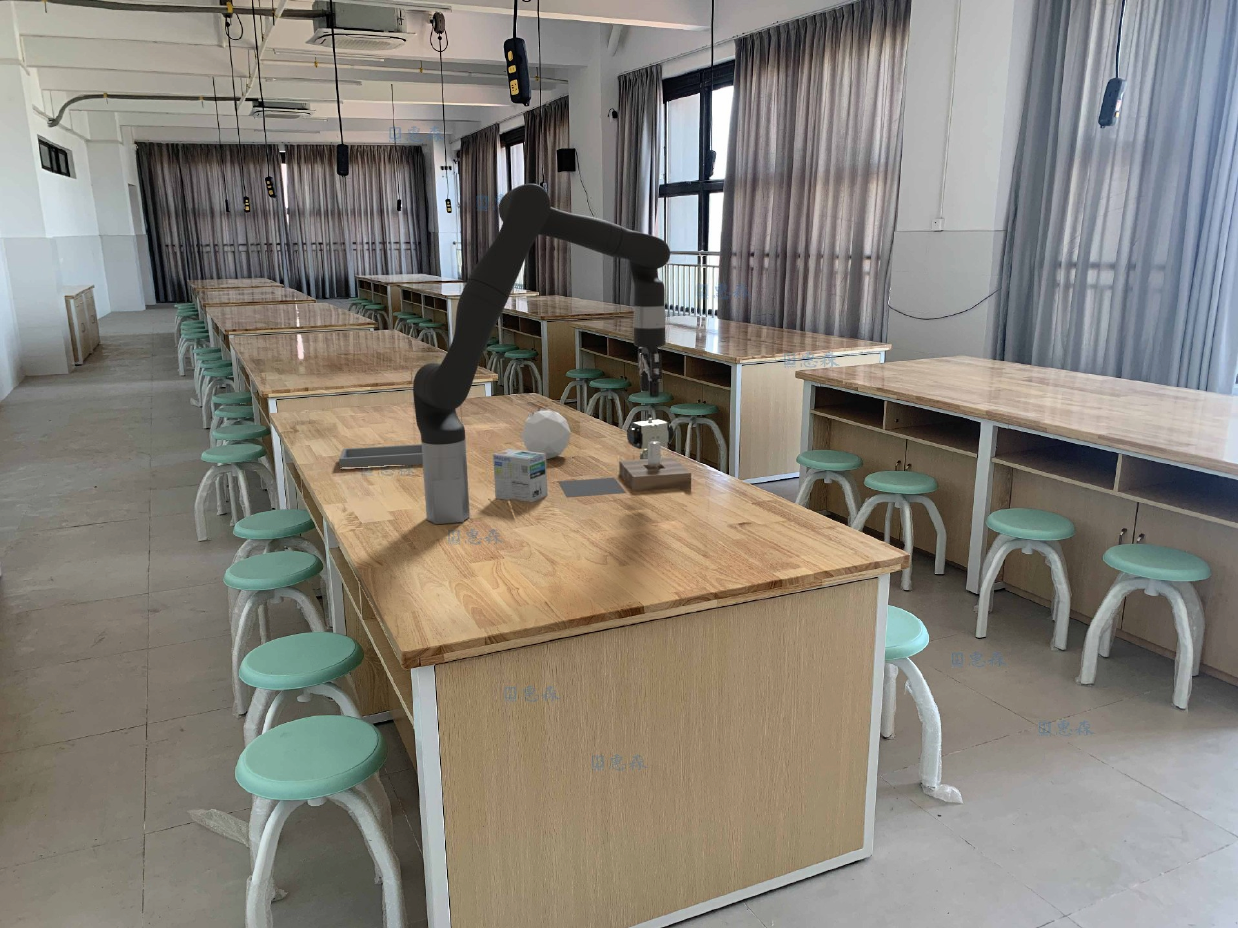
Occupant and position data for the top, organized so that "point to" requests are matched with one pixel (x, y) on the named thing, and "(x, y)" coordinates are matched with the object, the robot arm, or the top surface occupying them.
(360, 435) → the top surface
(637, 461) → the hole block
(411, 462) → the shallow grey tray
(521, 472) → the light bulb box
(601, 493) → the rubber mat
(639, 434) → the pneumatic valve
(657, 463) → the steel peg
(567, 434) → the geodesic sphere
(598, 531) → the top surface
